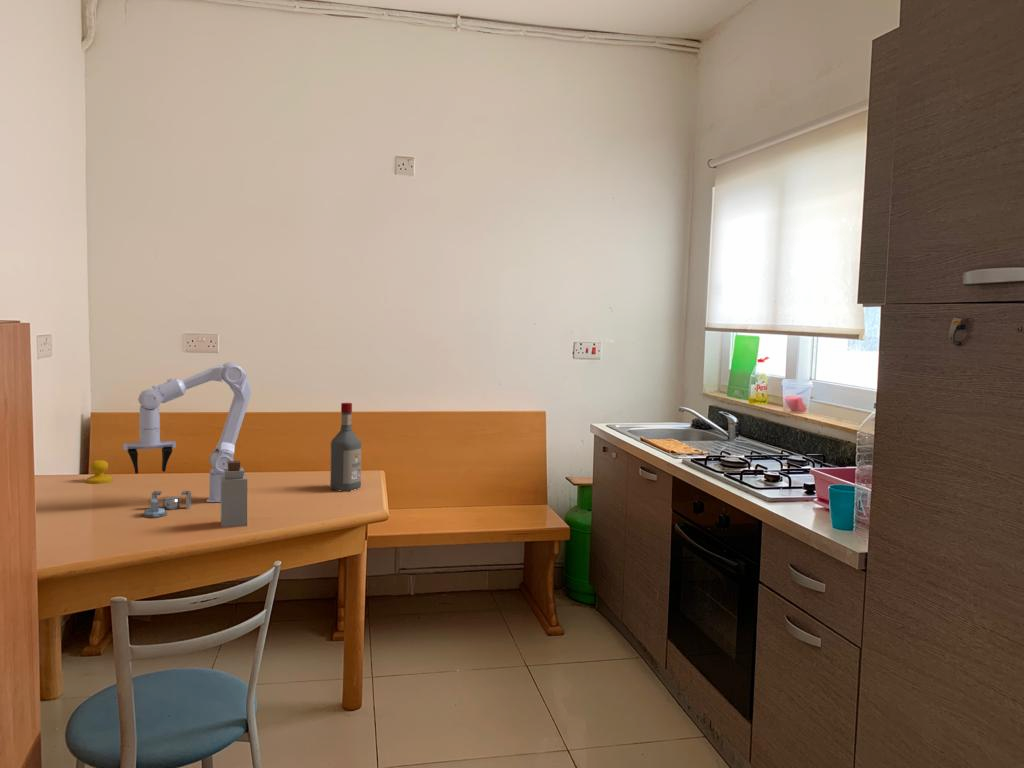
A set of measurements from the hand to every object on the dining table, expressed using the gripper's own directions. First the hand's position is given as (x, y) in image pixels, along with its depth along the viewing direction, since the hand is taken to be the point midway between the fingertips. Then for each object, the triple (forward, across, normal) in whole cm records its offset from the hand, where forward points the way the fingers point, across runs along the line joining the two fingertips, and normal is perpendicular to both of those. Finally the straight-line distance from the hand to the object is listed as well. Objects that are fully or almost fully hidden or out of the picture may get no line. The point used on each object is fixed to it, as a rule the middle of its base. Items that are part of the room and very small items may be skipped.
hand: (150, 472), depth 243 cm
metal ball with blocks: (+10, -5, +6) cm, 13 cm away
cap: (+10, 0, +13) cm, 16 cm away
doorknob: (+11, +11, -43) cm, 46 cm away
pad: (+10, 0, +13) cm, 16 cm away
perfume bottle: (+11, -18, +32) cm, 38 cm away
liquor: (+11, -62, +1) cm, 63 cm away
